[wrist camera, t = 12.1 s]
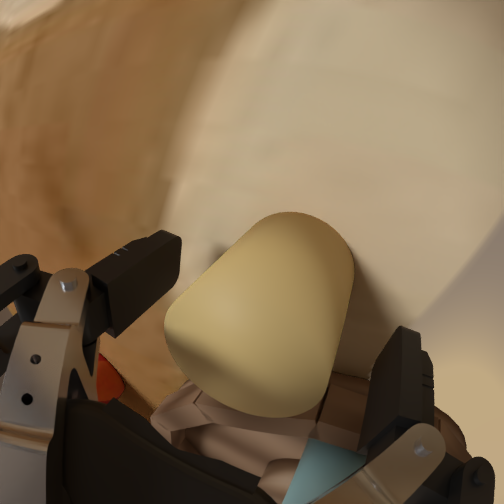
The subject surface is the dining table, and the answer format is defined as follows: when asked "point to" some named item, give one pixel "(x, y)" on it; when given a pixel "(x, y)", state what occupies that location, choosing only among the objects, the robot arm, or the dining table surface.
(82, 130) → the dining table surface
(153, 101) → the dining table surface
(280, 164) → the dining table surface
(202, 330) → the ochre bead
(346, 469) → the pale blue rounded piece
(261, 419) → the walnut tray
